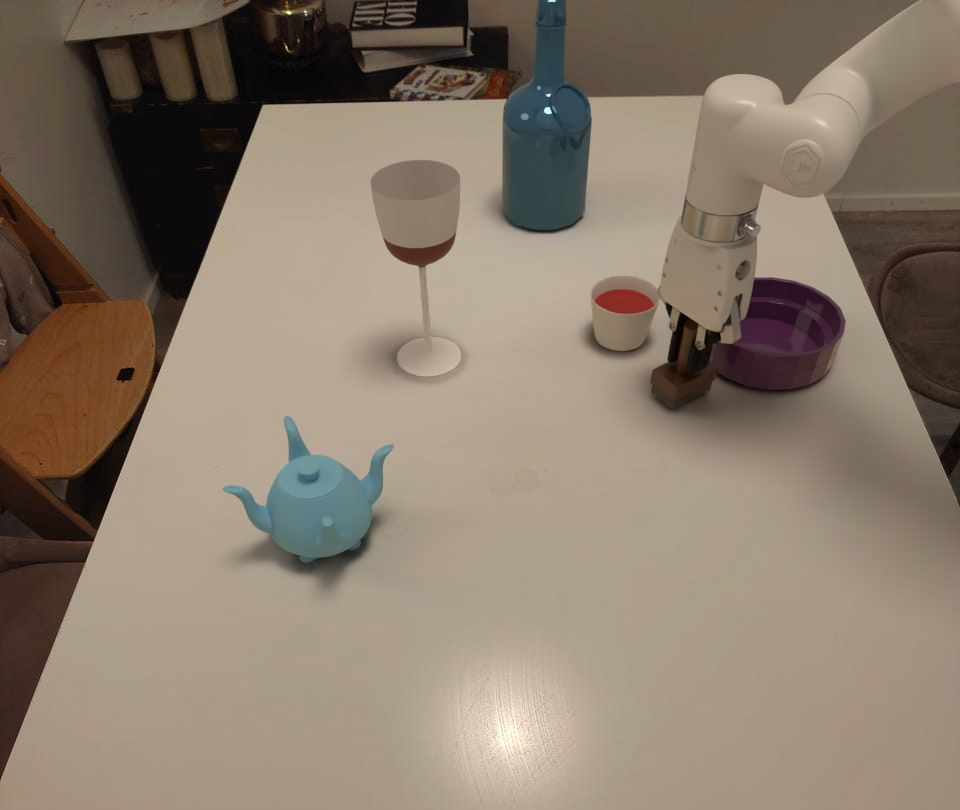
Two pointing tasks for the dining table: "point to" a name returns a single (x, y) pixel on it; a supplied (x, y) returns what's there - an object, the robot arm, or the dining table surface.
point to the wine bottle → (546, 135)
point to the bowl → (782, 337)
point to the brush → (682, 374)
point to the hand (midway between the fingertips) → (687, 363)
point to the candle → (623, 311)
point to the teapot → (316, 501)
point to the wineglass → (420, 242)
